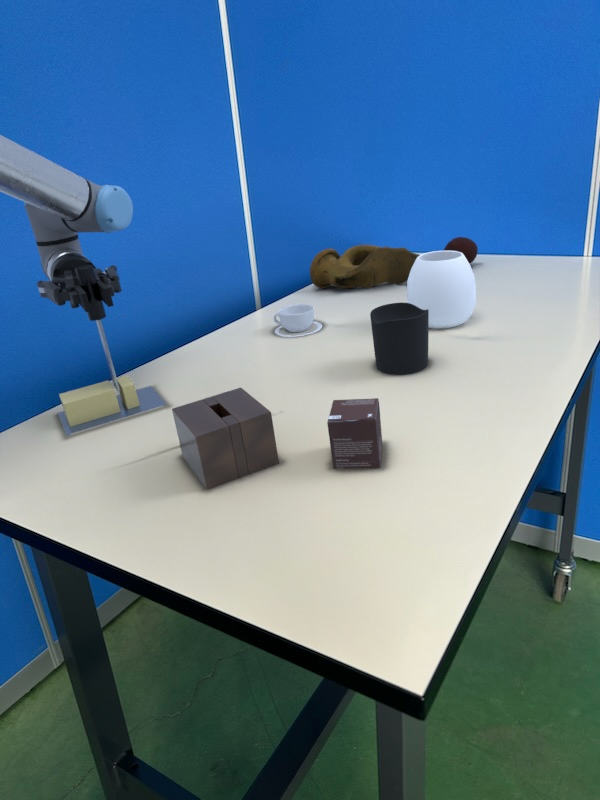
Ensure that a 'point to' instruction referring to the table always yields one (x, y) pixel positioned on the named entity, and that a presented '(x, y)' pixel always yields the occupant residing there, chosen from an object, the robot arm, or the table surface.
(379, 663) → the table surface
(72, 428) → the butter dish
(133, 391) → the butter slice
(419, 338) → the pen holder
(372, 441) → the box
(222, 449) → the knife block
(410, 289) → the white vase
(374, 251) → the brown looped sculpture
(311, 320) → the teacup
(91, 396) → the butter stick
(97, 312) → the knife
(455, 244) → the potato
